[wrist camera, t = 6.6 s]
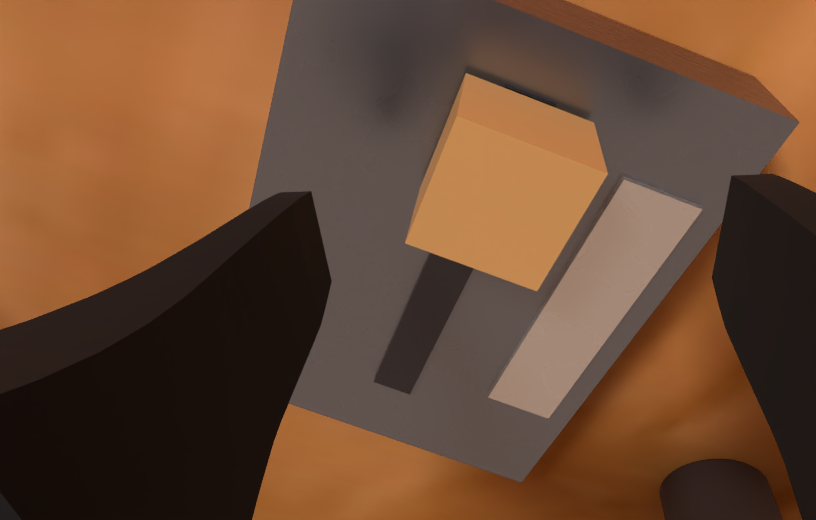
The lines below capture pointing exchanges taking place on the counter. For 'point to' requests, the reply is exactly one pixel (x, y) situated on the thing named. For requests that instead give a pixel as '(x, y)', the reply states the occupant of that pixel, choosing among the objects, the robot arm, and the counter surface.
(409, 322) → the panel
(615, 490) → the counter surface
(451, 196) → the block
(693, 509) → the post
